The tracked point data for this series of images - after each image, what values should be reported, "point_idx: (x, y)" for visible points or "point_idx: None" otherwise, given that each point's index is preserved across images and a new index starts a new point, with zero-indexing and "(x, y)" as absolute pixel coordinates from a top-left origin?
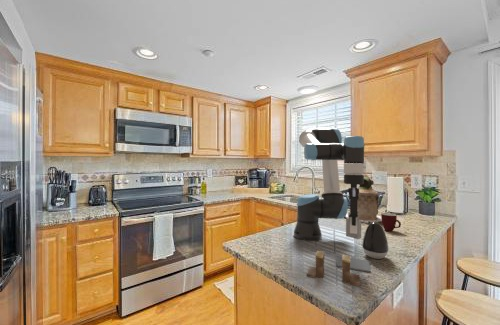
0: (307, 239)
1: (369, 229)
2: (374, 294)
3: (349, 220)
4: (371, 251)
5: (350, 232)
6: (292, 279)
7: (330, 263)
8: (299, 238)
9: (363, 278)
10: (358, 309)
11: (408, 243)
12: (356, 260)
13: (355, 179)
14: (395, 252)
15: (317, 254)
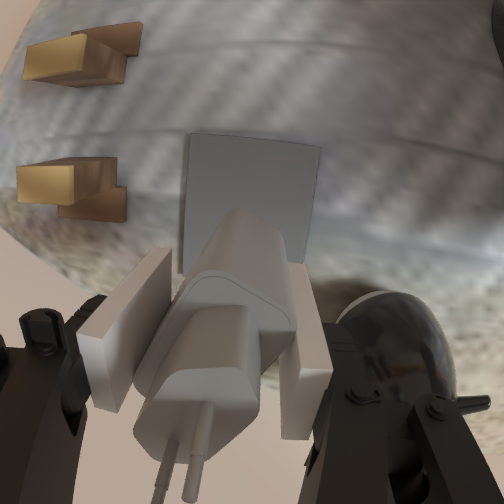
0: (497, 33)
1: (400, 391)
2: (41, 251)
3: (175, 302)
4: (337, 323)
5: (152, 253)
6: (49, 6)
7: (226, 103)
8: (496, 2)
9: (121, 236)
10: None
11: (482, 421)
12: (287, 235)
13: None
14: None
15: (39, 49)
